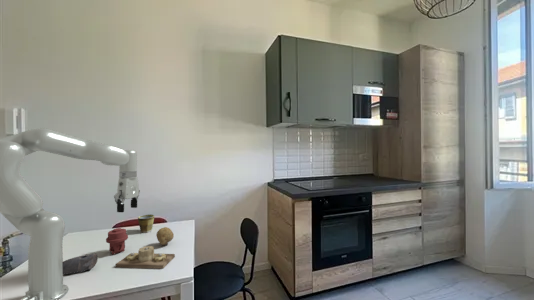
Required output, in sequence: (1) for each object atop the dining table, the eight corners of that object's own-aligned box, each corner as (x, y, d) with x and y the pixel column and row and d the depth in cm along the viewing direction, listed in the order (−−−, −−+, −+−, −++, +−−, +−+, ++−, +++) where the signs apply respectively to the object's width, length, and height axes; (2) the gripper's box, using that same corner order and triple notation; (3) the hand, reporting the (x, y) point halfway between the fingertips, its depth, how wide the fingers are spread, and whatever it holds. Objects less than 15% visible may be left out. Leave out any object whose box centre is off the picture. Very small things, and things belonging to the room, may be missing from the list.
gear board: (163, 268, 111) (163, 253, 111) (115, 267, 113) (115, 252, 113) (174, 256, 123) (174, 243, 123) (131, 255, 125) (131, 242, 125)
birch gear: (149, 262, 114) (149, 251, 114) (135, 261, 115) (135, 251, 115) (156, 255, 121) (156, 246, 121) (143, 255, 122) (143, 245, 122)
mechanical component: (132, 249, 134) (117, 257, 124) (116, 247, 136) (101, 255, 126) (132, 226, 133) (117, 233, 124) (116, 225, 135) (101, 231, 126)
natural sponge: (171, 240, 145) (171, 224, 145) (175, 245, 138) (175, 228, 138) (155, 243, 141) (155, 226, 140) (157, 249, 133) (157, 231, 133)
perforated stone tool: (53, 278, 103) (53, 262, 103) (58, 273, 108) (58, 257, 108) (95, 271, 110) (95, 256, 110) (98, 266, 114) (98, 251, 114)
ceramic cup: (157, 230, 164) (157, 215, 164) (143, 234, 155) (143, 219, 155) (146, 227, 170) (146, 213, 170) (132, 231, 162) (132, 216, 162)
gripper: (123, 176, 110) (122, 214, 110) (145, 173, 127) (145, 206, 127) (107, 176, 111) (107, 213, 111) (132, 173, 128) (131, 205, 128)
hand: (127, 209), depth 119 cm, fingers open, 9 cm apart
